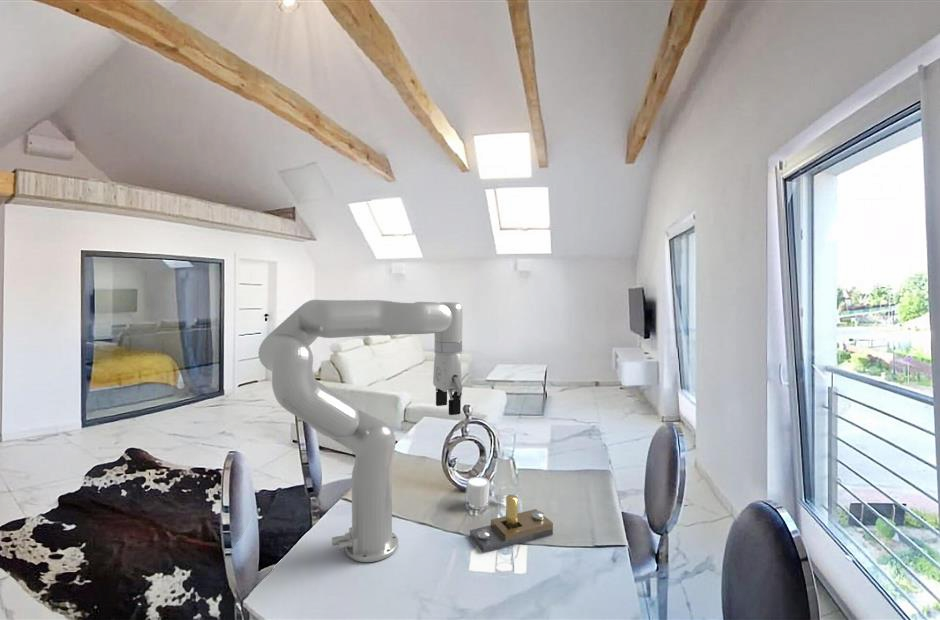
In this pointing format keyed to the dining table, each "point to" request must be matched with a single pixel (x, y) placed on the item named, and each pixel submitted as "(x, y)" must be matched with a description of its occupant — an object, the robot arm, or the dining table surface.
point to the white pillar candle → (478, 491)
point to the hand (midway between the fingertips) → (447, 409)
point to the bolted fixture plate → (512, 531)
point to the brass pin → (511, 511)
